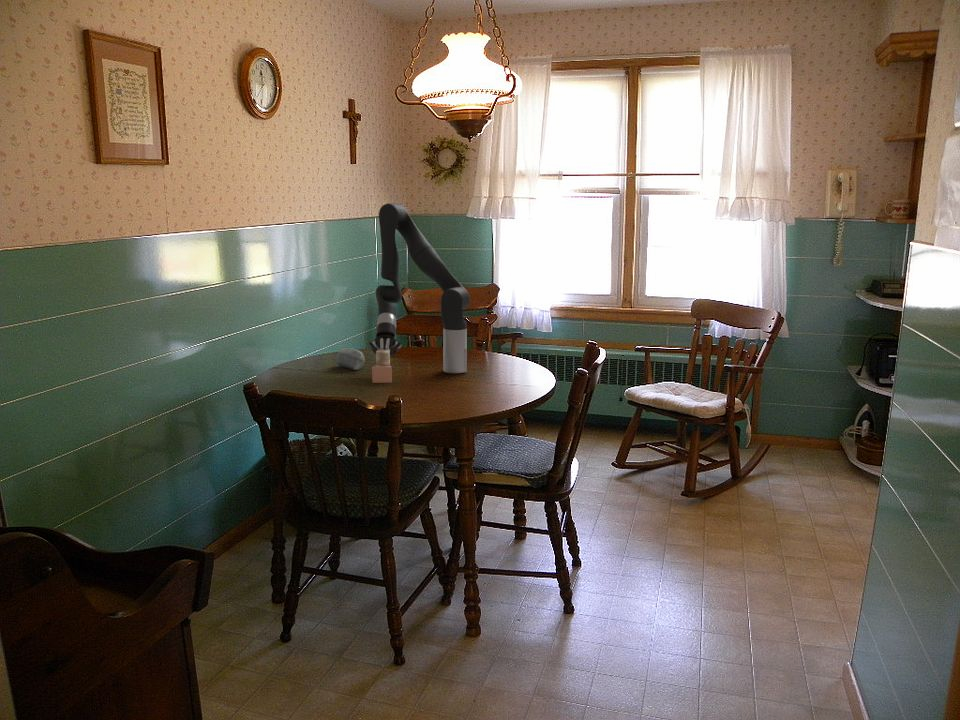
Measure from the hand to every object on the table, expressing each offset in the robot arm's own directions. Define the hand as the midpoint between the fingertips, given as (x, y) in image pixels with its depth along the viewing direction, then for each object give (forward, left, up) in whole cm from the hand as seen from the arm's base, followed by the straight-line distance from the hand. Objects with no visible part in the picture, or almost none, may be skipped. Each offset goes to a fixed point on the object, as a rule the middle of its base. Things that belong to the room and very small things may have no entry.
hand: (383, 364), depth 293 cm
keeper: (0, +3, -5) cm, 6 cm away
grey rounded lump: (+15, -17, -6) cm, 24 cm away
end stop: (0, +7, -5) cm, 9 cm away
